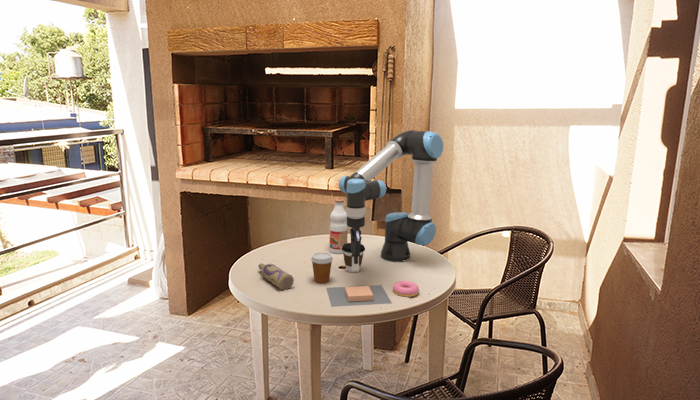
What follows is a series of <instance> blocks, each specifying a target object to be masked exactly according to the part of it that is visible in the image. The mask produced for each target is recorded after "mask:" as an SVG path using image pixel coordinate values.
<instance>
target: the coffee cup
mask: <svg viewBox="0 0 700 400" xmlns="http://www.w3.org/2000/svg"><path fill="white" fill-rule="evenodd" d="M342 250H343V252H344V253H342V254H343V261H344V266H345V270H346V272H348V273H354V274H355V273H358V272H360V270H361V267H362V262H363V259H364V257H363V256H364V252H365V251H366V247H365V245H363V244H362V243H361V247H360V256H359V270H358V271H352V257H351V255H352V252H351V242H347V244H344V245H343V247H342Z"/></svg>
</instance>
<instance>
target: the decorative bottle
mask: <svg viewBox="0 0 700 400" xmlns="http://www.w3.org/2000/svg"><path fill="white" fill-rule="evenodd" d="M258 268H259V270H261V271H260V273H261V277H263V278H264V279H266V280H267V281H268V282H270V283H271V284H273V285H274V286H276V287H277V288H278V289H280V290H282V291H287V290H289V289H290V288H291V287H292V286H293V285H294V281H295V279H294V277H293V275H291V274H289V273H288V272H286V271H285V270H283V269H282V268H280V267H278V266H277V265H276V264H273V263H267V264H265V263H259V264H258Z"/></svg>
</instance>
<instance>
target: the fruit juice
mask: <svg viewBox="0 0 700 400" xmlns="http://www.w3.org/2000/svg"><path fill="white" fill-rule="evenodd" d="M333 202H334V206H333V210H332V211H331V212H330V215H329V216H330V217H329V219H330V223H329V252H330V253H332V254H335V255H336V254H338V255H341V254H343V253H344V252H343V250H342V247H343V245H344V244H347V243H348V232H349V231H348V226H347V217H348V216H347V211H345V208H344V202H345V200H344V198H335V199H334V201H333Z"/></svg>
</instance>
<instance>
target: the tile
mask: <svg viewBox="0 0 700 400" xmlns="http://www.w3.org/2000/svg"><path fill="white" fill-rule="evenodd" d="M358 286H359V287H351V286H344V287H345V294H346V297H347V300H348V302H356V301H372V300H373V293H372V291H371V290H370V288H369V286H370V285H358Z"/></svg>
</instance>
